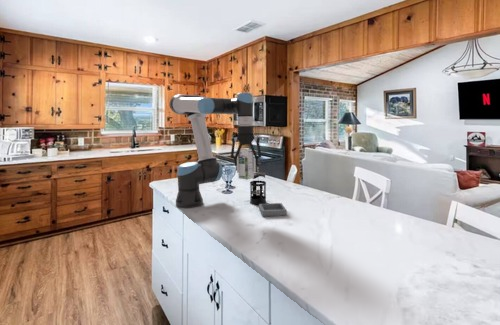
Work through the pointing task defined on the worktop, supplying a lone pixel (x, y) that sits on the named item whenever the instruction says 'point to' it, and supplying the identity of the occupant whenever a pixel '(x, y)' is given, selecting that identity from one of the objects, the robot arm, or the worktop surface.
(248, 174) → the syrup box
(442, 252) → the worktop surface
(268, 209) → the tray
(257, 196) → the french press
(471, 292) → the worktop surface
